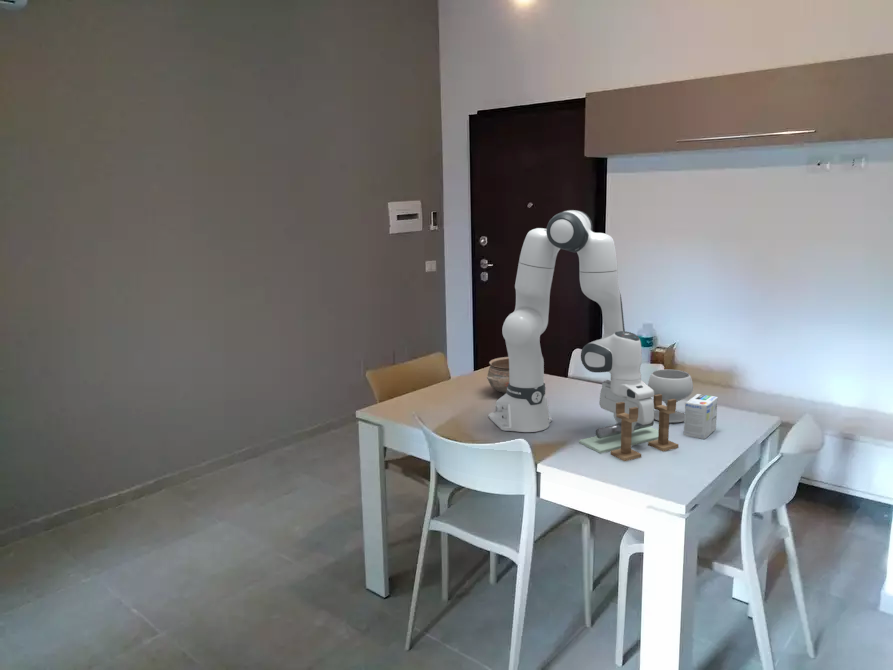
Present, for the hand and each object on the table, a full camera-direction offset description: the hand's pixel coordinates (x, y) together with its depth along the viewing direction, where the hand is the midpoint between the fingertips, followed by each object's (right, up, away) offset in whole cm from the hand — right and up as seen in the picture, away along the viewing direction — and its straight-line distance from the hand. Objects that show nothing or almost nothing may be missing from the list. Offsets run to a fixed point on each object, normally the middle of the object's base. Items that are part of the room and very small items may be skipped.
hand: (624, 430), depth 199 cm
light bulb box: (+24, -2, +5) cm, 25 cm away
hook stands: (+3, -5, -9) cm, 11 cm away
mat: (0, -3, 0) cm, 3 cm away
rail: (0, -1, 0) cm, 1 cm away
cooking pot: (-29, +6, +51) cm, 59 cm away
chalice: (+20, +1, +19) cm, 27 cm away
